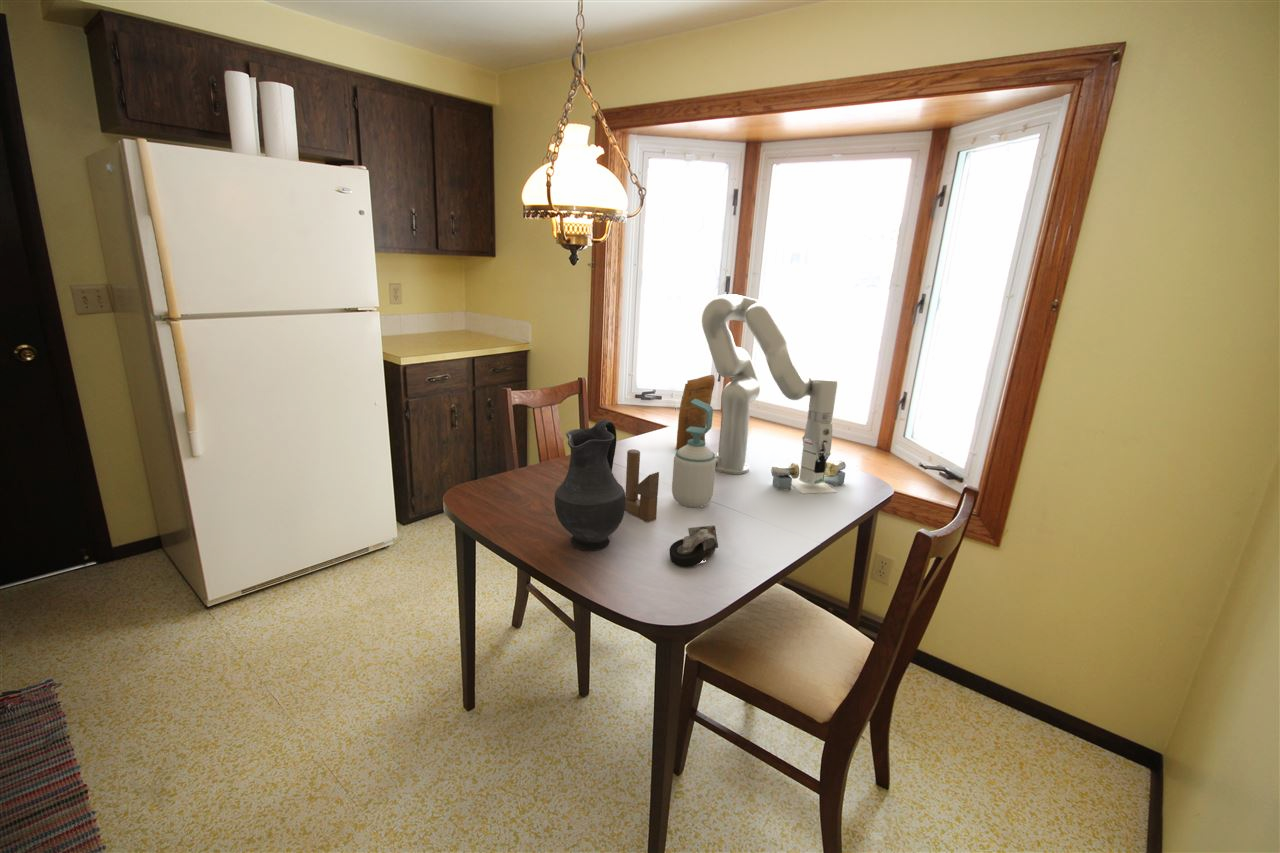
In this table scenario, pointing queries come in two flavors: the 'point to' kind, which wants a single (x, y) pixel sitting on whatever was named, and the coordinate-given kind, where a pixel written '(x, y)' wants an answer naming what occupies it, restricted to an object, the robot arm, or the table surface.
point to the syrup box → (810, 465)
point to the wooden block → (640, 490)
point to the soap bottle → (695, 466)
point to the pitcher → (591, 488)
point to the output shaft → (835, 473)
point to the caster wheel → (694, 546)
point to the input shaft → (784, 476)
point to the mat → (811, 487)
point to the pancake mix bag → (693, 408)
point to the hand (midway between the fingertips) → (812, 467)
